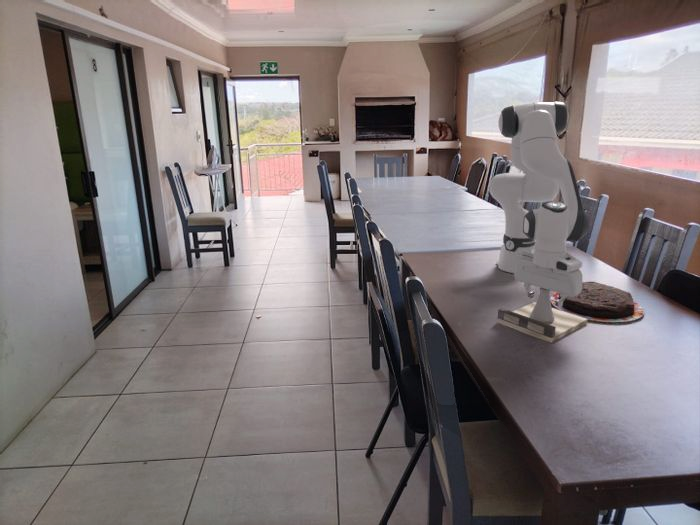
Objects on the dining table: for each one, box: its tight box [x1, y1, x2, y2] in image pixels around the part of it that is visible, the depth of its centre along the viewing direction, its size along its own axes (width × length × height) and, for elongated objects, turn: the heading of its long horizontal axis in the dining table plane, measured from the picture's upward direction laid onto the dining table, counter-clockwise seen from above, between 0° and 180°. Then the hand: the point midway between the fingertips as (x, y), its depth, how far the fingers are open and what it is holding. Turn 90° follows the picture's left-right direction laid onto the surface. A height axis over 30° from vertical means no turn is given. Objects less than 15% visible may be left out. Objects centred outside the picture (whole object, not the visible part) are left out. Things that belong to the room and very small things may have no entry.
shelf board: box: [496, 301, 588, 344], centre depth 146 cm, size 20×18×4 cm
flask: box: [529, 287, 555, 323], centre depth 145 cm, size 7×7×10 cm
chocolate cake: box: [549, 281, 645, 325], centre depth 157 cm, size 28×28×7 cm
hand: (544, 301), depth 145 cm, fingers open, 8 cm apart
